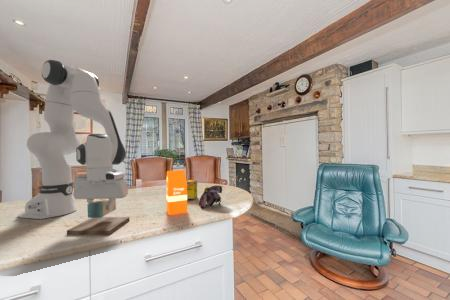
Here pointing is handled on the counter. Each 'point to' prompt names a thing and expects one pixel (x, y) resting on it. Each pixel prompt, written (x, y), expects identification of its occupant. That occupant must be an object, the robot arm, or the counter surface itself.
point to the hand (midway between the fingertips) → (101, 209)
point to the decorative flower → (210, 196)
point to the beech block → (100, 208)
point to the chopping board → (98, 226)
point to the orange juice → (176, 192)
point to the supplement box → (191, 189)
